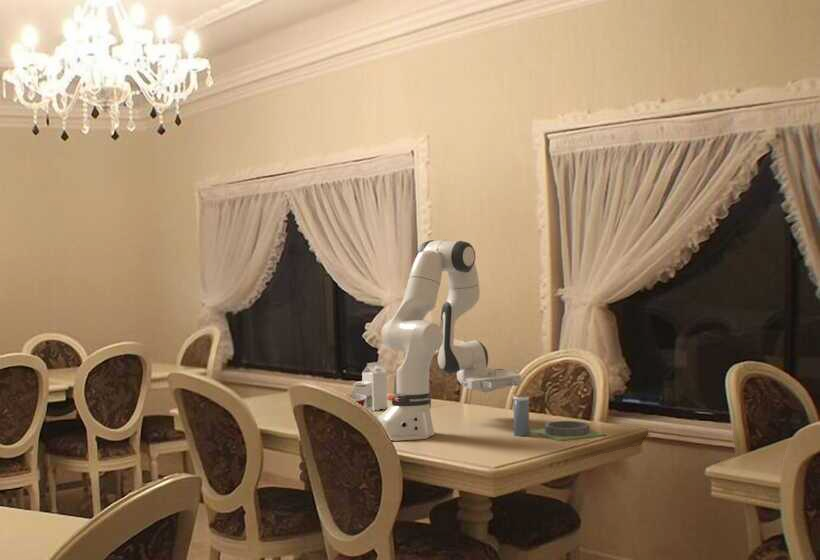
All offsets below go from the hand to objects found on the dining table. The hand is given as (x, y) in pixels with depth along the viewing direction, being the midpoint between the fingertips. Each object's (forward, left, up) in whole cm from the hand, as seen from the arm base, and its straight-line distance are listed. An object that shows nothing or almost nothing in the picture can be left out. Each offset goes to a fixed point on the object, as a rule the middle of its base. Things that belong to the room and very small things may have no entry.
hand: (504, 384), depth 295 cm
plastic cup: (-46, +28, -16) cm, 56 cm away
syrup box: (-36, +43, -16) cm, 58 cm away
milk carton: (-22, +66, -16) cm, 71 cm away
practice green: (+14, -17, -16) cm, 27 cm away
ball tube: (0, -11, -16) cm, 19 cm away
